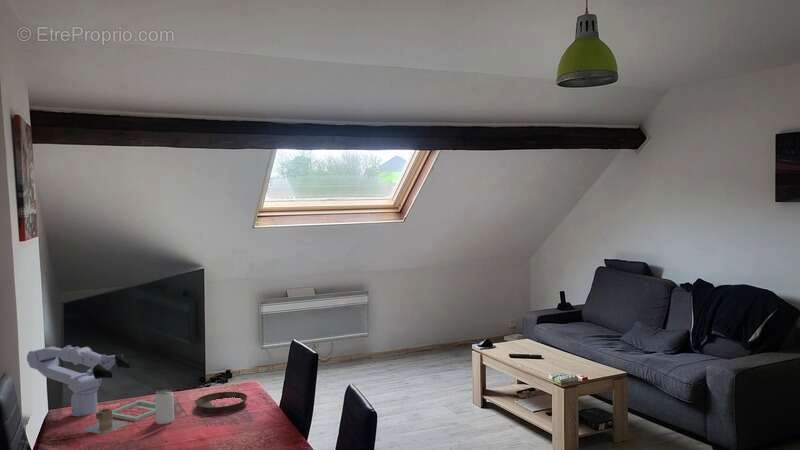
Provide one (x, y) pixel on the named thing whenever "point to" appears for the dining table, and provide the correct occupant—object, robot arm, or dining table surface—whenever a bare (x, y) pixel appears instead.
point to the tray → (136, 404)
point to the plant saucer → (205, 400)
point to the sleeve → (105, 418)
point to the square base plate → (98, 430)
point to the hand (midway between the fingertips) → (120, 370)
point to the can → (164, 406)
